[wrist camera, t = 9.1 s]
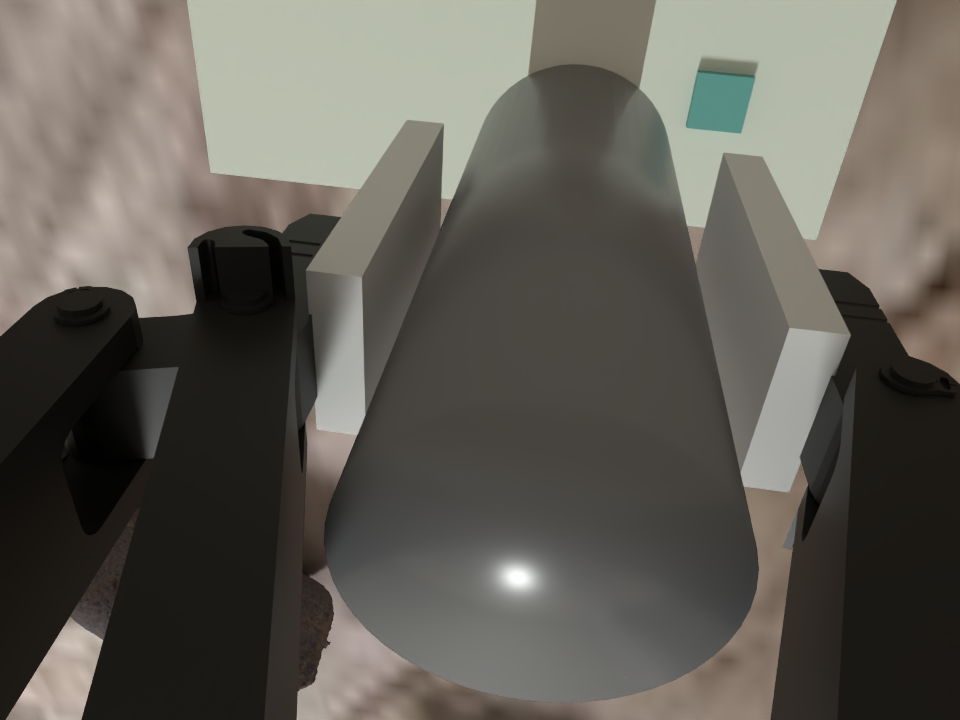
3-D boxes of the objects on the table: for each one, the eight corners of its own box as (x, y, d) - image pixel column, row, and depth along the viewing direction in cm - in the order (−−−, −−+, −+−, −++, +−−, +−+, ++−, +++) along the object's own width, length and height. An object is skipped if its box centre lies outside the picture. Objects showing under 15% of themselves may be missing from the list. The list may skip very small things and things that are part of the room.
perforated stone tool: (56, 509, 40) (-34, 621, 35) (74, 444, 38) (-20, 554, 32) (321, 623, 43) (278, 745, 37) (357, 570, 40) (316, 693, 34)
